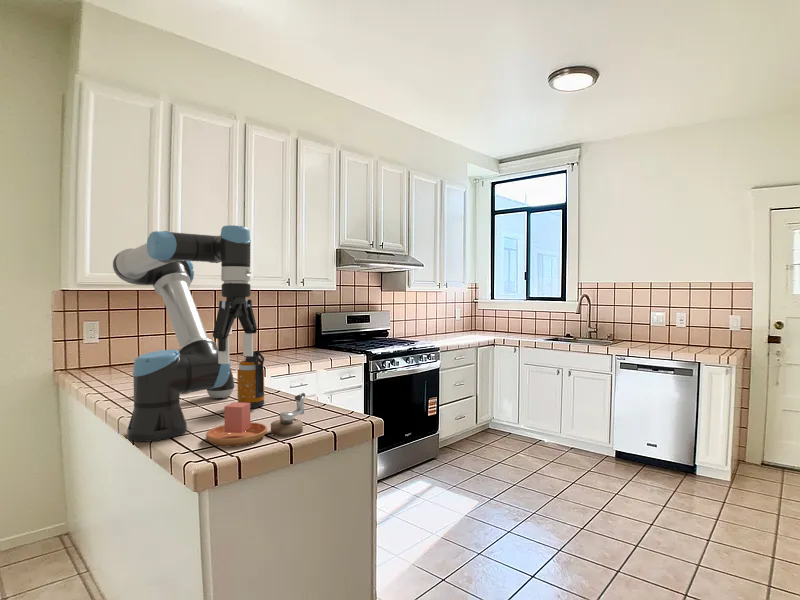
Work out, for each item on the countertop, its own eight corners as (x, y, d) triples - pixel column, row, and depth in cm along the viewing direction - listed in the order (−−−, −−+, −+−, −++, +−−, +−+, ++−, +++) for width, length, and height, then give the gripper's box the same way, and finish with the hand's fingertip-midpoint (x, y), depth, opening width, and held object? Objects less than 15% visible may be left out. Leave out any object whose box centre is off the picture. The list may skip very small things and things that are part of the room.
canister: (254, 402, 173) (254, 347, 173) (273, 406, 166) (272, 350, 166) (232, 406, 166) (232, 350, 166) (250, 411, 159) (250, 352, 159)
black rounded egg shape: (227, 393, 188) (226, 355, 188) (239, 397, 181) (238, 357, 180) (201, 397, 181) (200, 357, 181) (212, 401, 174) (212, 360, 173)
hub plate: (265, 435, 133) (265, 426, 133) (278, 426, 142) (278, 417, 142) (296, 437, 132) (296, 427, 132) (307, 427, 141) (307, 418, 141)
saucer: (197, 439, 131) (197, 429, 131) (252, 428, 142) (252, 418, 142) (219, 454, 120) (219, 443, 120) (277, 441, 130) (277, 430, 130)
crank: (289, 424, 135) (289, 402, 134) (277, 423, 136) (276, 401, 136) (309, 413, 146) (309, 393, 146) (297, 412, 147) (297, 392, 147)
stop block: (224, 432, 129) (224, 406, 128) (233, 426, 134) (233, 402, 133) (241, 433, 128) (241, 407, 128) (250, 427, 133) (250, 402, 133)
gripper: (225, 282, 117) (226, 367, 118) (268, 283, 142) (268, 353, 142) (197, 282, 118) (198, 366, 119) (244, 283, 143) (245, 353, 143)
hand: (236, 359), depth 130 cm, fingers open, 13 cm apart
